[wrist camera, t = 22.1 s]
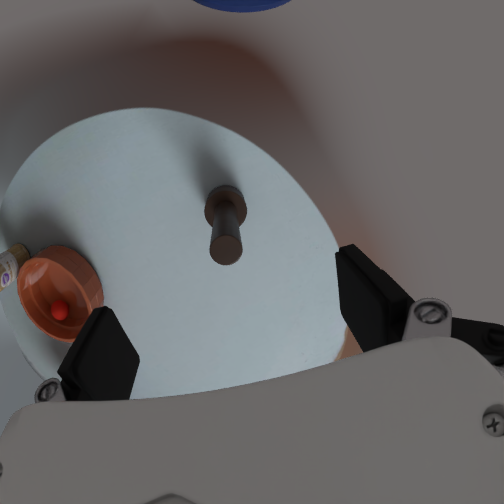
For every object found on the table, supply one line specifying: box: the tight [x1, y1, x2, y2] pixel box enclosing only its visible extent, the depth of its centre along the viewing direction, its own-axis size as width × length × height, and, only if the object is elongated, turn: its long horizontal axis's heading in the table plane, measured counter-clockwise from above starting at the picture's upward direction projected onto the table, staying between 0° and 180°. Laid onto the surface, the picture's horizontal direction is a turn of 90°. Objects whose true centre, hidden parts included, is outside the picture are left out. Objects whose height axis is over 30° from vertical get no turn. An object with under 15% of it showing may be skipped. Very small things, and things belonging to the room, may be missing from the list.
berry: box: [51, 300, 69, 320], centre depth 34 cm, size 3×3×3 cm
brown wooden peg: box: [204, 185, 247, 265], centre depth 26 cm, size 4×4×15 cm
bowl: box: [17, 245, 104, 342], centre depth 32 cm, size 13×13×5 cm
